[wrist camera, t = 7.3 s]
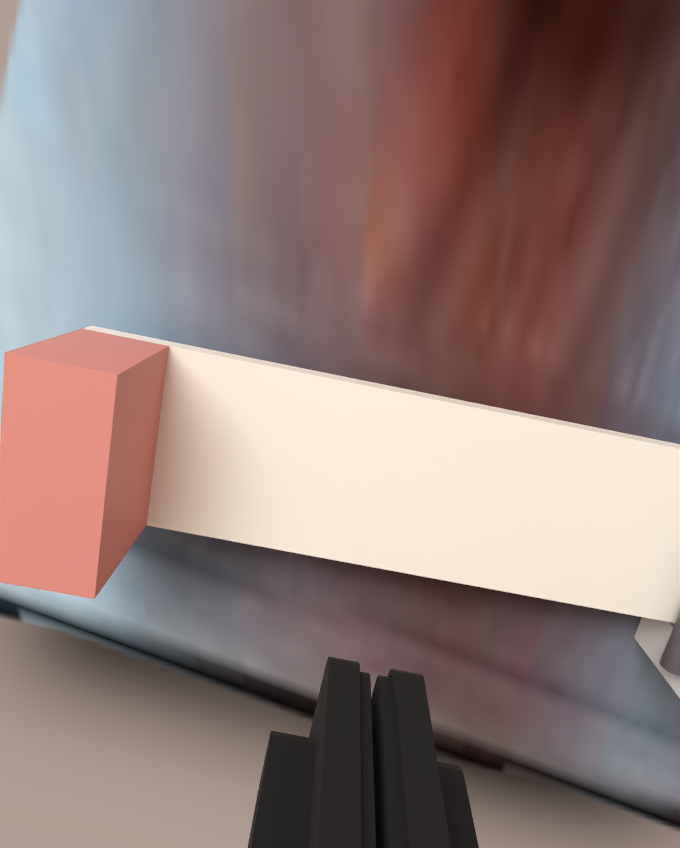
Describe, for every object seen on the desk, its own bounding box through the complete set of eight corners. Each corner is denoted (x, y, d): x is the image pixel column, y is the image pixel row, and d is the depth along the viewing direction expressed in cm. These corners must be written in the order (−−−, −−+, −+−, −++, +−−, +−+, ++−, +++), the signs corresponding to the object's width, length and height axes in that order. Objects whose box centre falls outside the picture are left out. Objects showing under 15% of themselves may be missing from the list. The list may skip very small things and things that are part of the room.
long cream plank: (773, 463, 23) (911, 532, 17) (705, 619, 25) (811, 726, 19) (91, 325, 22) (4, 352, 16) (76, 502, 23) (-7, 580, 18)
